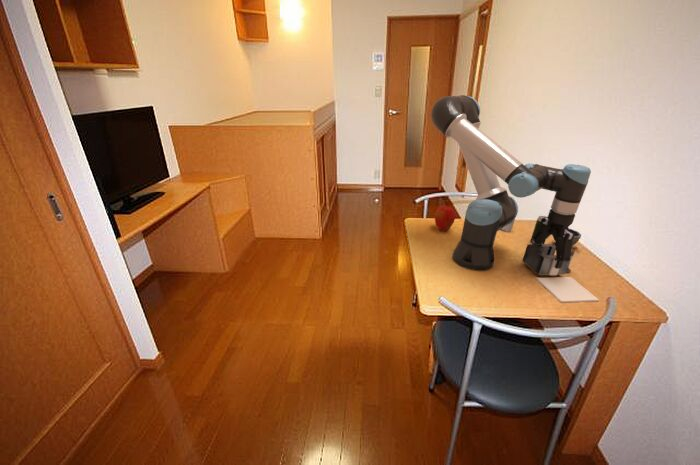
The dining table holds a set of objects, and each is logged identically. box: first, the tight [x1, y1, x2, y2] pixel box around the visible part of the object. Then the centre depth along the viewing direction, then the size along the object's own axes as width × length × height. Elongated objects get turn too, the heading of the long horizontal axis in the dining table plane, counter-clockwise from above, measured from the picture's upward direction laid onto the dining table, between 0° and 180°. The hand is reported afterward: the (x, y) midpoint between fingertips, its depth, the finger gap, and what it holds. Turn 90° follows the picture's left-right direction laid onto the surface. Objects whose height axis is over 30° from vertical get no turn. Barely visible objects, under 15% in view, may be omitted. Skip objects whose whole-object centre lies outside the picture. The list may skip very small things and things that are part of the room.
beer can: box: [530, 215, 548, 244], centre depth 136 cm, size 5×5×12 cm
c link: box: [522, 243, 571, 276], centre depth 117 cm, size 10×10×7 cm
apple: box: [434, 205, 456, 232], centre depth 146 cm, size 9×9×12 cm
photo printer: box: [500, 218, 516, 233], centre depth 150 cm, size 10×4×12 cm, turn 35°
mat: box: [535, 276, 599, 303], centre depth 108 cm, size 13×13×1 cm
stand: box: [565, 248, 575, 274], centre depth 118 cm, size 4×4×9 cm
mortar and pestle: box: [552, 227, 582, 246], centre depth 134 cm, size 11×9×12 cm
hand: (543, 266), depth 118 cm, fingers closed on c link, 10 cm apart
